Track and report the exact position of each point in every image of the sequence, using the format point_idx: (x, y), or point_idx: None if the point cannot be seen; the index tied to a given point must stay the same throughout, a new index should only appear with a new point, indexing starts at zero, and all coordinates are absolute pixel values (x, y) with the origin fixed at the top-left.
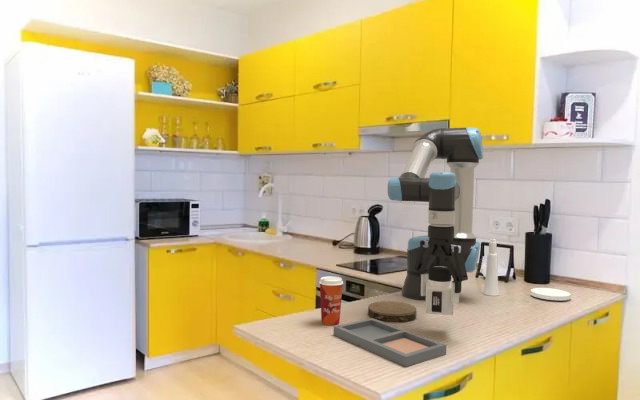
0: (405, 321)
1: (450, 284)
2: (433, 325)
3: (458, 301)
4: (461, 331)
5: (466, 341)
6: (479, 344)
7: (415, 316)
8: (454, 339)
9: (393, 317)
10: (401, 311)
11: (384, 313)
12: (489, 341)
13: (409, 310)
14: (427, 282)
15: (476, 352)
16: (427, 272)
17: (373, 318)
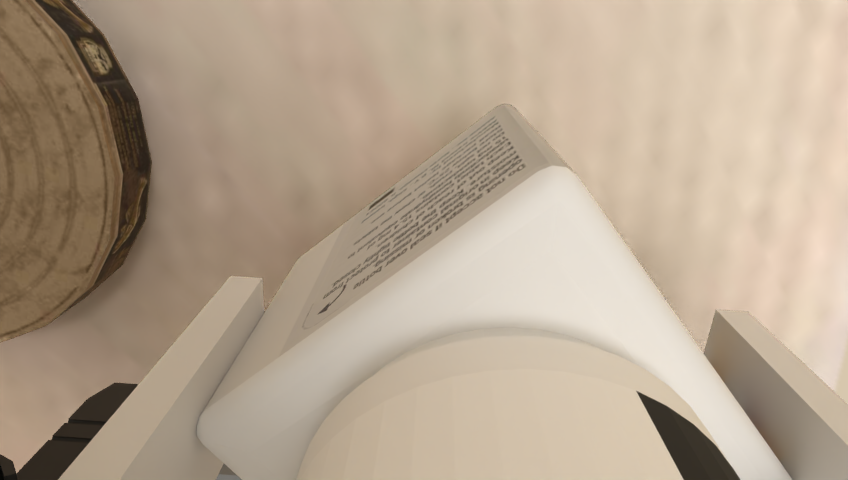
0: (145, 195)
1: (627, 327)
2: (326, 88)
3: (758, 329)
4: (562, 33)
5: (699, 208)
6: (797, 191)
7: (104, 57)
8: None
9: (93, 287)
10: (40, 190)
11: (27, 332)
12: (835, 72)
13: (43, 106)
14: (251, 478)
15: (834, 331)
16: (14, 475)
17: None
